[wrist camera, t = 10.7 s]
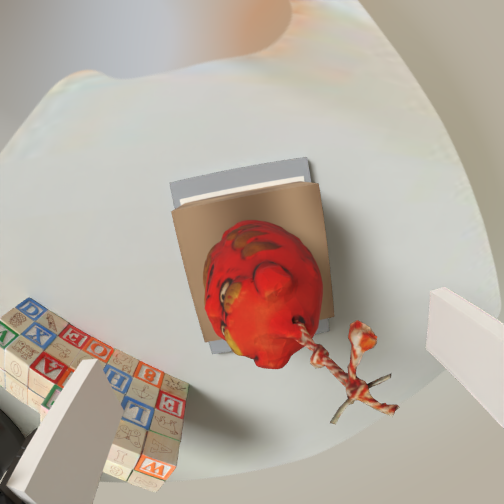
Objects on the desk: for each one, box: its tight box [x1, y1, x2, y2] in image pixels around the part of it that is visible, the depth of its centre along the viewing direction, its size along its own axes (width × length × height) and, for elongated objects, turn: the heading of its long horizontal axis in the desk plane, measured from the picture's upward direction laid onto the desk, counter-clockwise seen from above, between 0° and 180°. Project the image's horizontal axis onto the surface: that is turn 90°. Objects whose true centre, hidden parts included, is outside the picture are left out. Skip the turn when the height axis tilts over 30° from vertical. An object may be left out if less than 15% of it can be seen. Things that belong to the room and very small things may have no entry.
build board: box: [169, 157, 329, 354], centre depth 28 cm, size 12×17×1 cm
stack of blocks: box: [0, 298, 189, 492], centre depth 24 cm, size 21×6×12 cm, turn 62°
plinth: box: [171, 181, 334, 342], centre depth 24 cm, size 10×10×6 cm
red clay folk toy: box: [203, 220, 399, 424], centre depth 14 cm, size 8×7×15 cm
